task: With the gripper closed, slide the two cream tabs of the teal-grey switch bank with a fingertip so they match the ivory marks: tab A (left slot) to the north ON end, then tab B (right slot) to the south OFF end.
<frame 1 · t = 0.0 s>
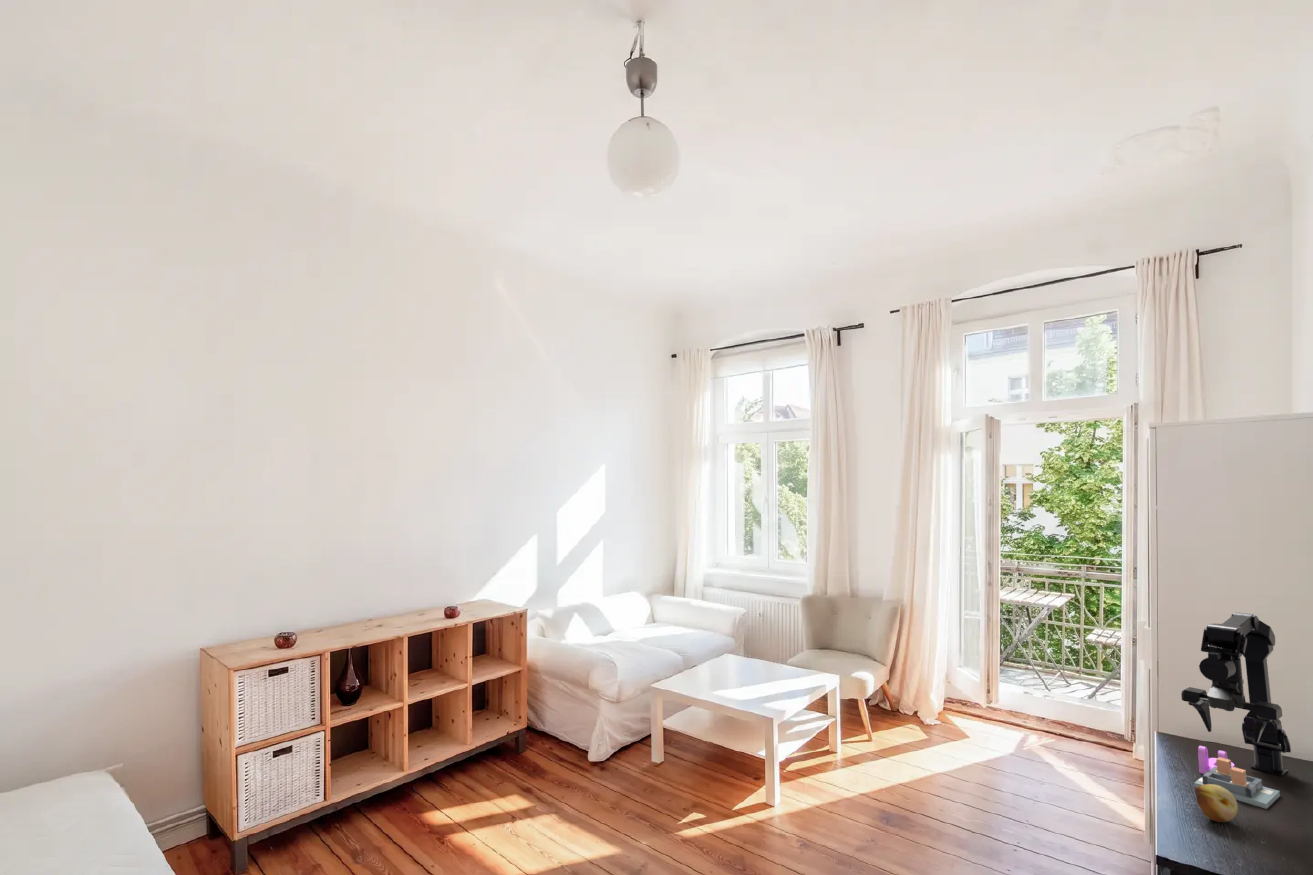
hand: (1232, 737, 162), 15 cm above the table, fingers open, 9 cm apart
switch plate: (1236, 791, 164), on the table
bracket: (1218, 771, 176), on the table
tab b: (1239, 779, 161), point 4 cm above the table, slide at 4.1 cm
fruit: (1217, 821, 149), on the table
tab a: (1224, 769, 168), point 4 cm above the table, slide at 0.0 cm
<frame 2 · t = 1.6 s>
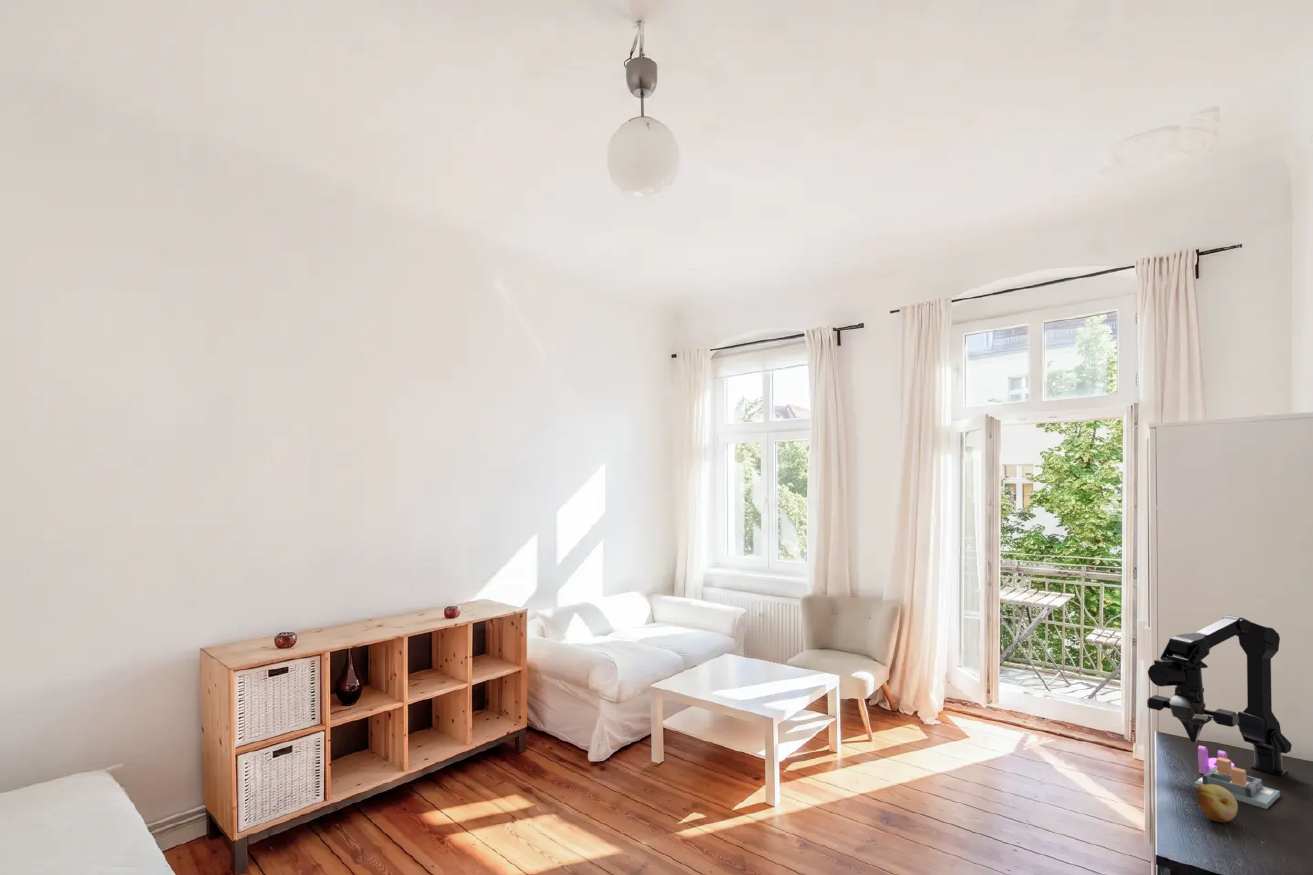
hand: (1193, 742, 173), 9 cm above the table, fingers closed
nothing on the table moved.
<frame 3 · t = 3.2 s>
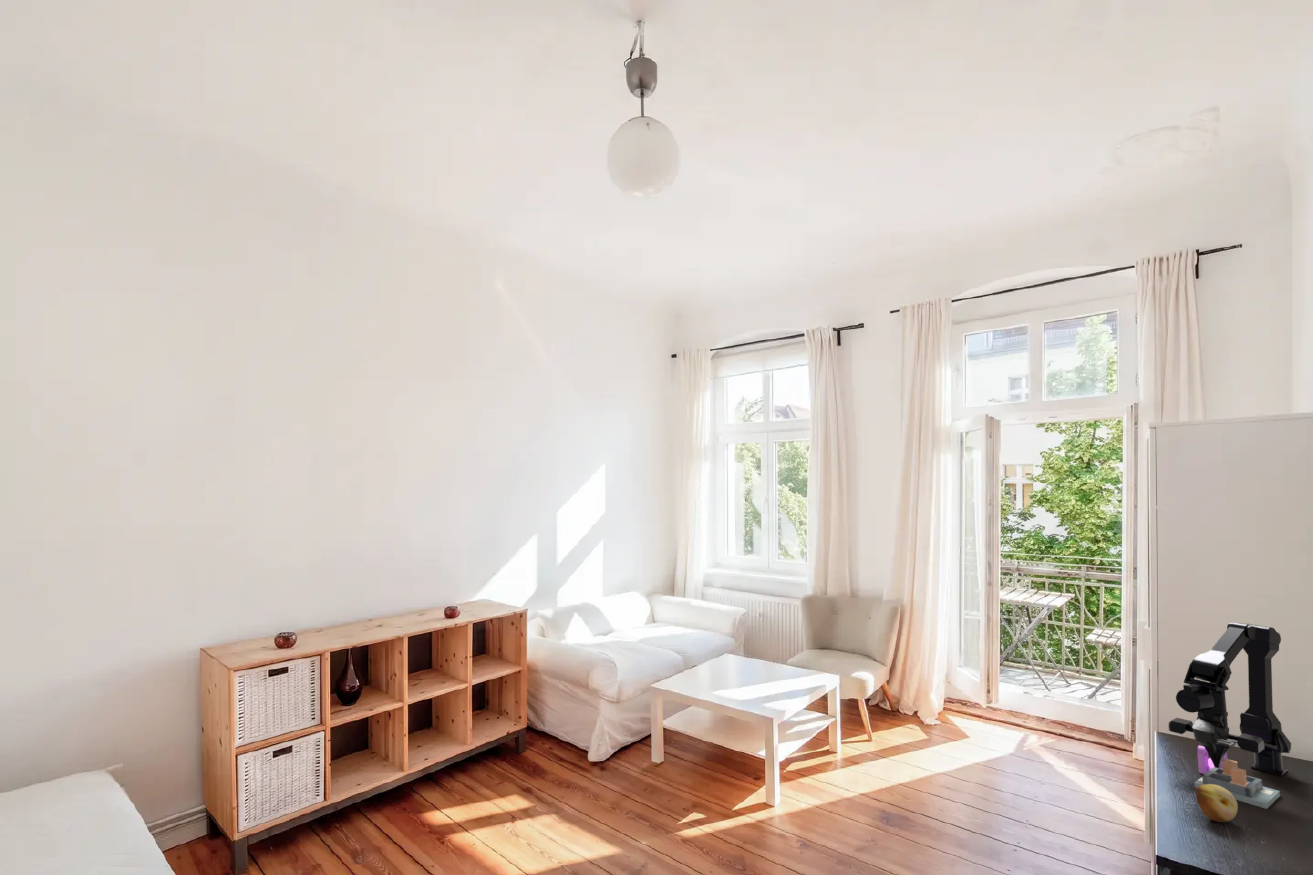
hand: (1217, 767, 169), 4 cm above the table, fingers closed
tab a: (1230, 771, 166), point 4 cm above the table, slide at 1.3 cm, touching gripper
everything else where it was.
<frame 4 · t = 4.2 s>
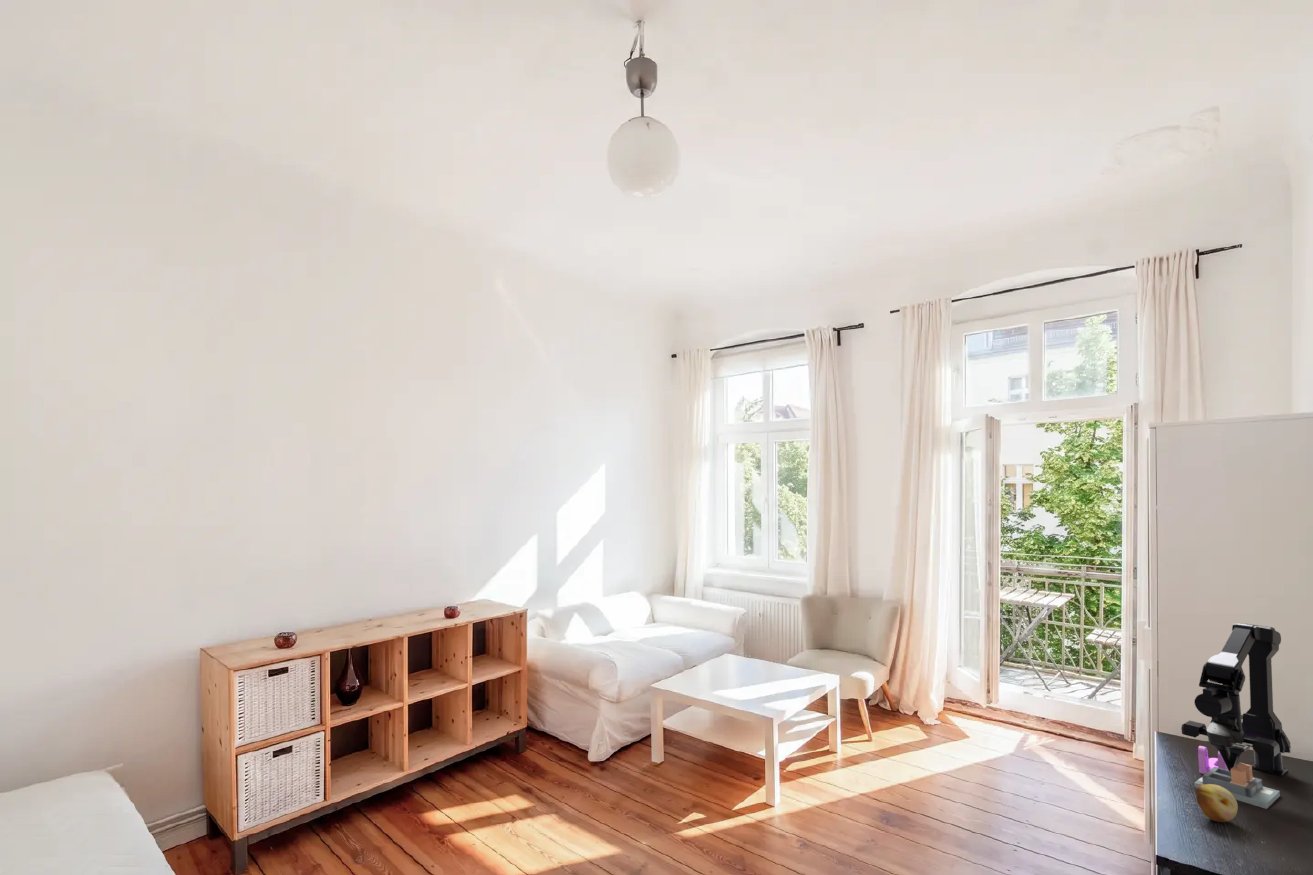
hand: (1231, 771, 166), 4 cm above the table, fingers closed
tab a: (1245, 774, 164), point 4 cm above the table, slide at 4.1 cm, touching gripper
everything else where it was.
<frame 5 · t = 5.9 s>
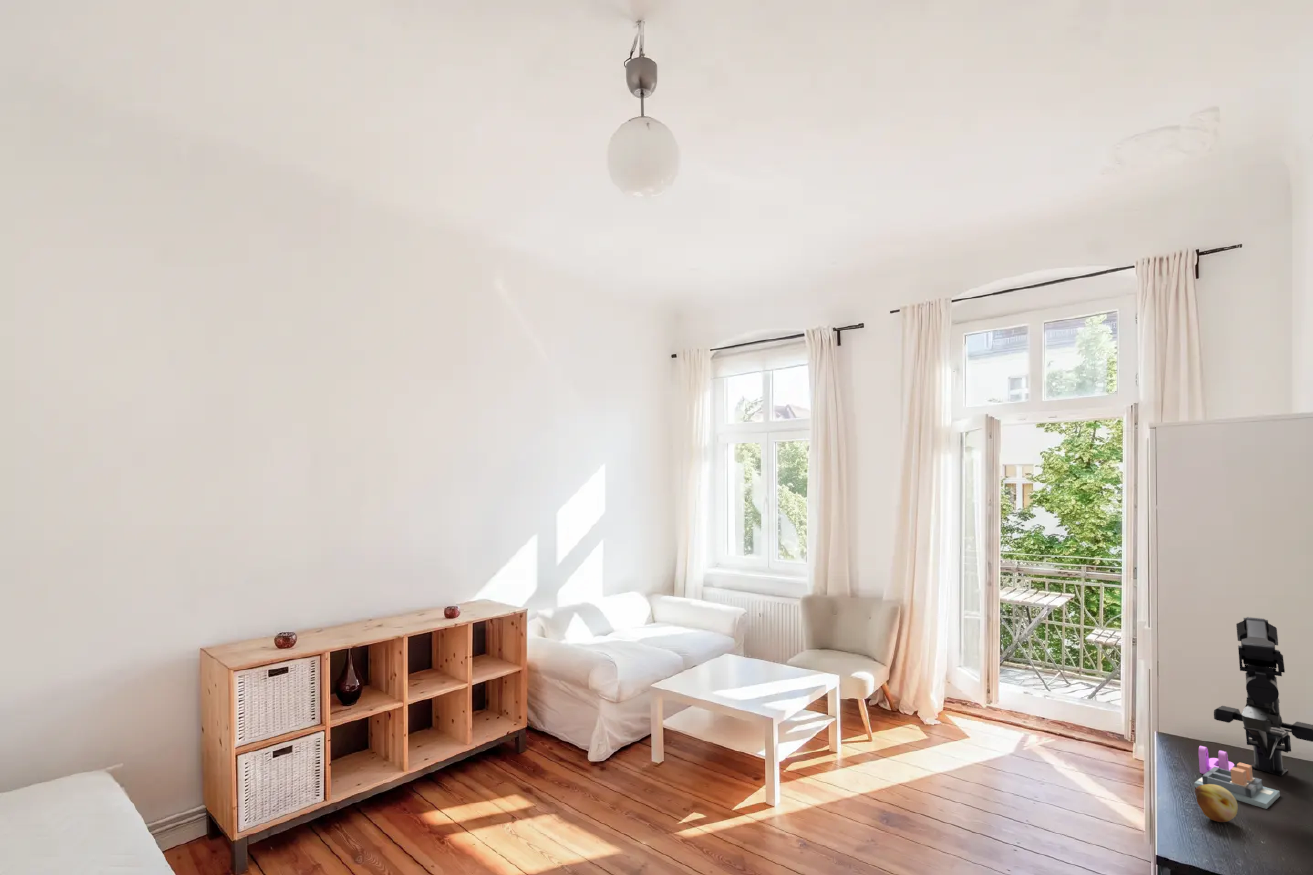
hand: (1268, 758, 157), 11 cm above the table, fingers closed
tab a: (1245, 774, 164), point 4 cm above the table, slide at 4.1 cm
everything else where it was.
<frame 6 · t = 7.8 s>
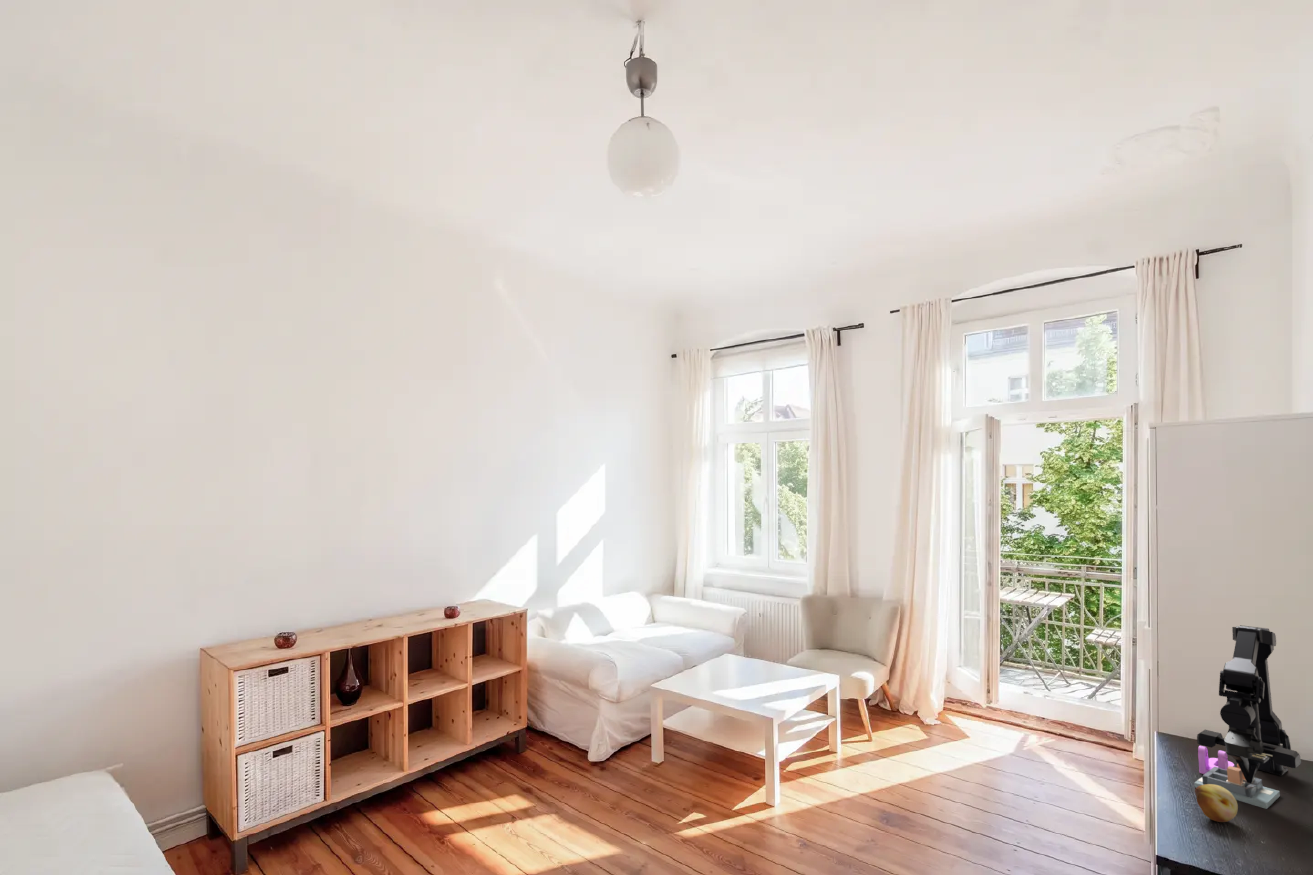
hand: (1249, 782, 160), 4 cm above the table, fingers closed
tab b: (1235, 778, 162), point 4 cm above the table, slide at 3.3 cm, touching gripper
everything else where it was.
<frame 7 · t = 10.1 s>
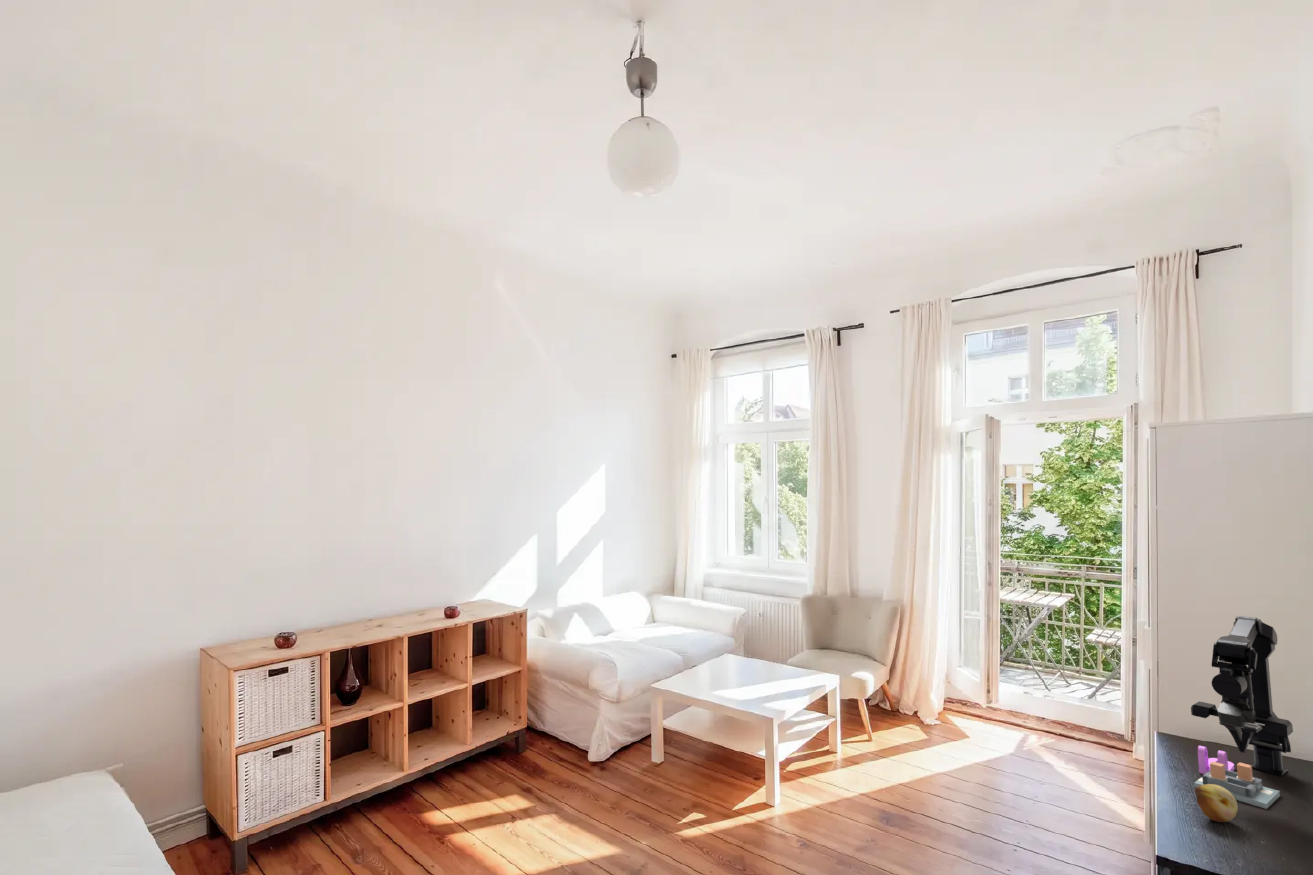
hand: (1242, 752, 162), 11 cm above the table, fingers closed
tab b: (1218, 773, 165), point 4 cm above the table, slide at -0.1 cm
everything else where it was.
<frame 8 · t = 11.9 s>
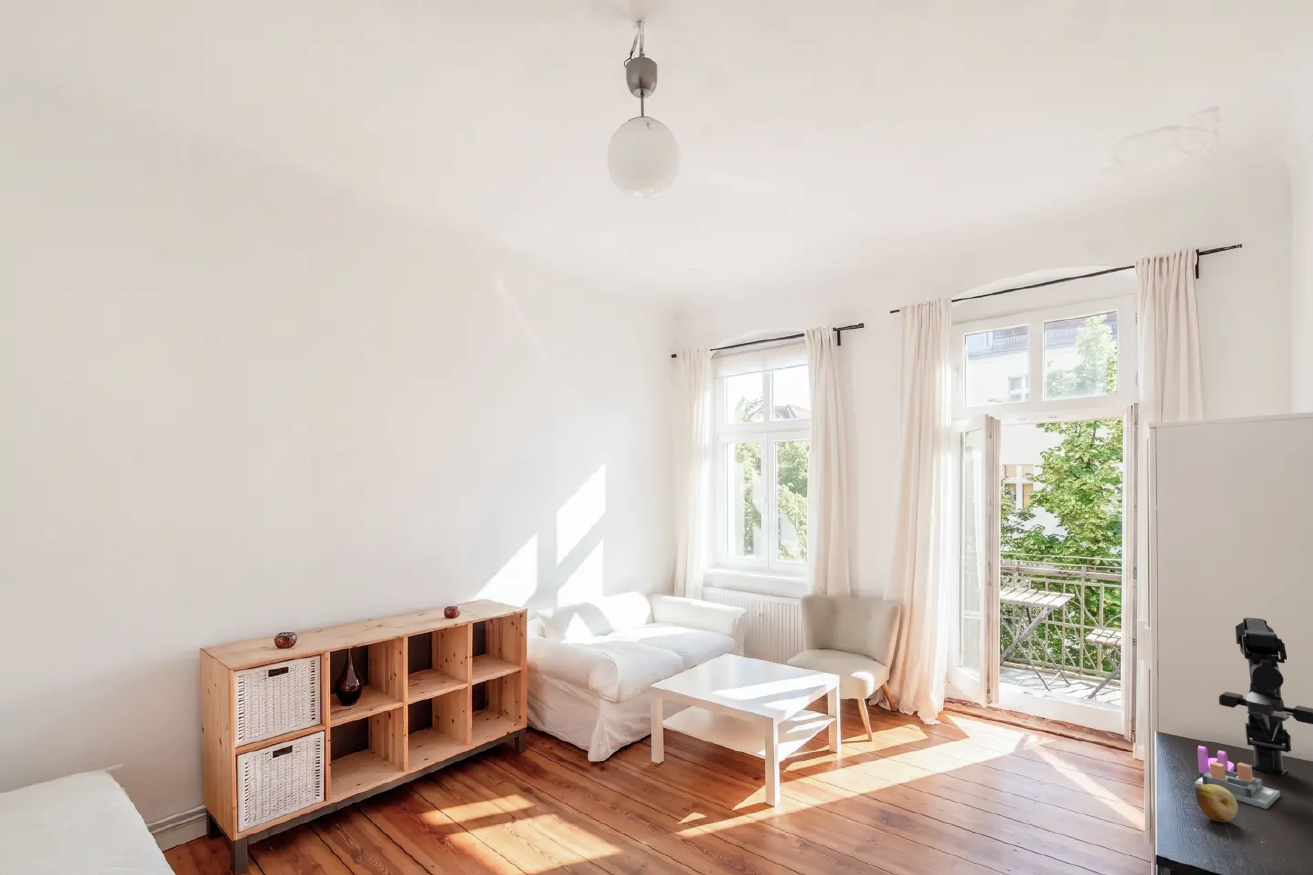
hand: (1270, 740, 167), 12 cm above the table, fingers closed
nothing on the table moved.
at the end: tab a slide at 4.1 cm; tab b slide at -0.1 cm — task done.
